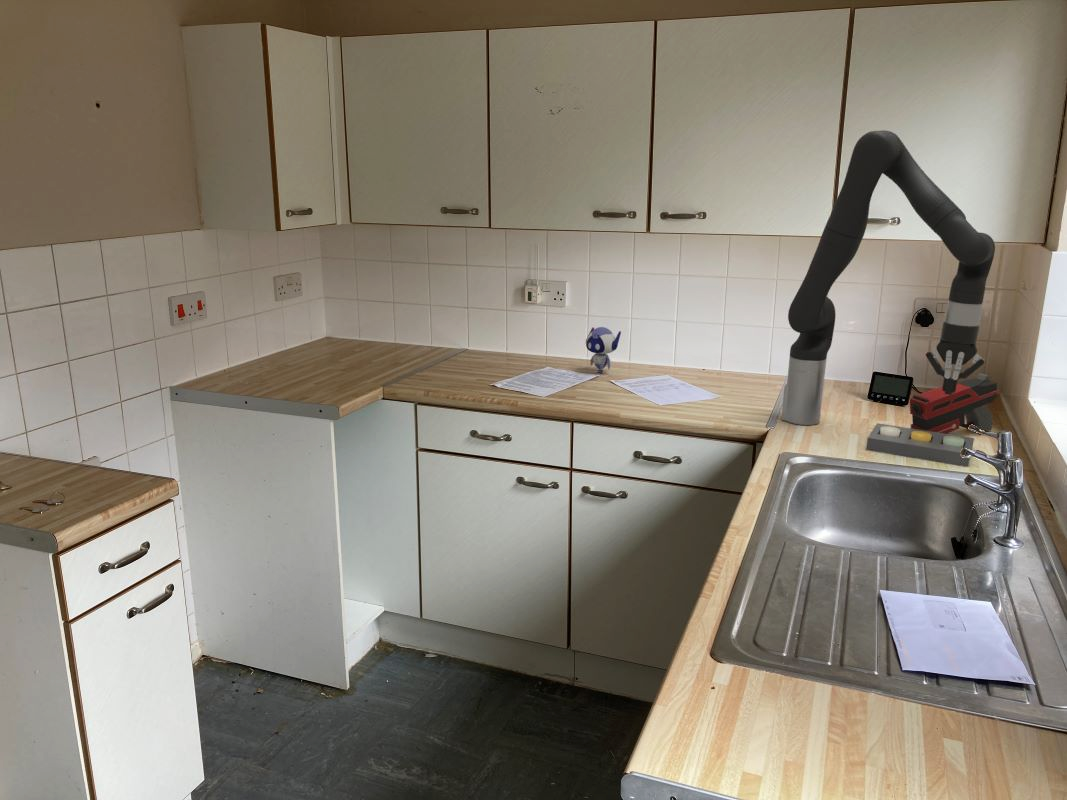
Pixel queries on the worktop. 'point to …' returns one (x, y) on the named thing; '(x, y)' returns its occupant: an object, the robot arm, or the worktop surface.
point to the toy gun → (955, 406)
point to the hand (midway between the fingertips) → (948, 393)
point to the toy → (601, 346)
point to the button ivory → (890, 431)
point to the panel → (918, 445)
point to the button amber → (921, 436)
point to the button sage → (953, 441)
